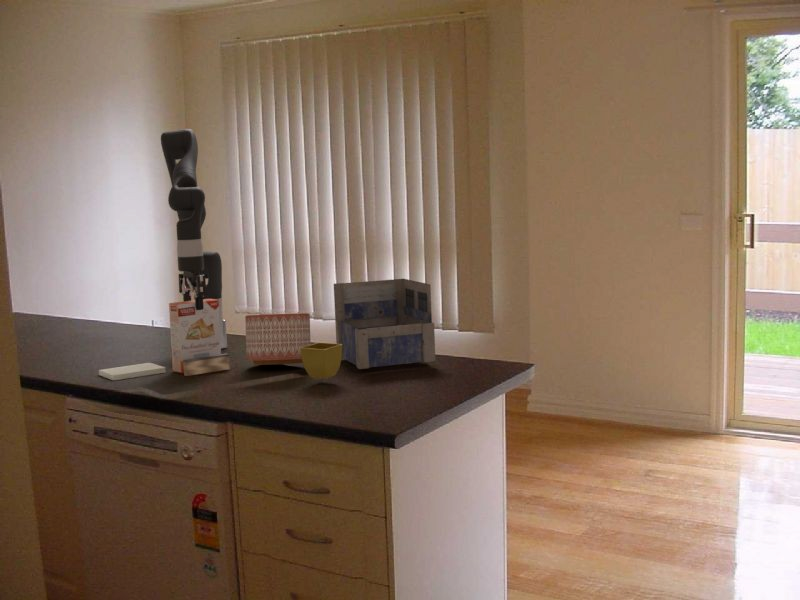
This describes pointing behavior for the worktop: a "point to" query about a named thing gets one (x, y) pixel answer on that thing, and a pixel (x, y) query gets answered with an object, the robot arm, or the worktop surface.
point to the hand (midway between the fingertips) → (193, 308)
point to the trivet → (131, 371)
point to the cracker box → (194, 331)
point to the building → (384, 322)
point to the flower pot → (321, 359)
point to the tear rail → (206, 364)
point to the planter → (276, 337)
